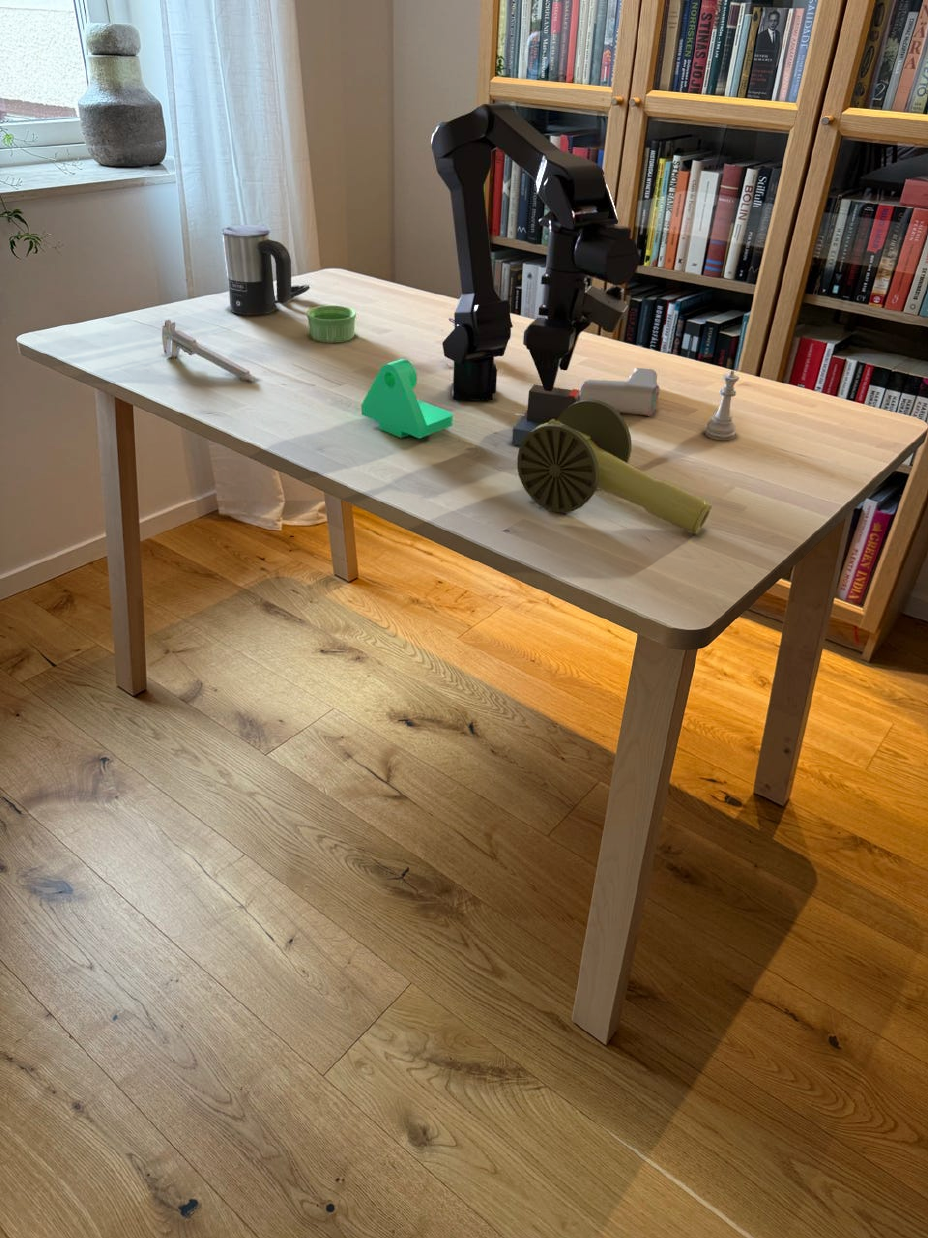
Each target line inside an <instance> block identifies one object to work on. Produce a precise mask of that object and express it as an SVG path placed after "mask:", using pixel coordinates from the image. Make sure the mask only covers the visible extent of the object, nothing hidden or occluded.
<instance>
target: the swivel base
mask: <svg viewBox="0 0 928 1238" xmlns="http://www.w3.org/2000/svg"><path fill="white" fill-rule="evenodd" d="M514 416H516V417H520V419H519V420H518V421H517V423H516V424H515V425H514V427H513V428H512V439H511V440H512V441H511V445H514V446H519V447H520V446H521V444H522V442H523V441H524V439H525V438H526V437H527V436H528V435H529V434H530V433H531V432H532V431H533V430H534V429H536V428H537V427H538V426H539V425H542V424H544V423H540V422H534V421H528V420H527V410H526V411H525V412H524V414H522V413H515V414H514Z"/></svg>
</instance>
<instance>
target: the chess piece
mask: <svg viewBox="0 0 928 1238" xmlns="http://www.w3.org/2000/svg"><path fill="white" fill-rule="evenodd" d="M722 379H723V382H724V386H723V387H722V388H720V390H719V395H721V396H722V398H721V402H720V404H719V407H718V409H717V412H716V413H714V414H713V416H712V418H711V419H709V420H708V421H707V422H706V425H705V426H706V427H705V428H704V434H705V436H706V437H708V438H710V439H713V440H715V441H730V440H732V439H734V437H735V434H736V433H735V431H736V425H735V423H734V422H733V416H732V415H731V402H732V401H731V400H732V398H733V397H735V396H736V395H737V391H736V390H735V387H734V386H735V384H736V383H737V382H738V381H739V380H740V376H739V375H737V374H735V370H729V373H724V374H723V375H722Z"/></svg>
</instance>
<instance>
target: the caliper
mask: <svg viewBox="0 0 928 1238" xmlns="http://www.w3.org/2000/svg"><path fill="white" fill-rule="evenodd" d="M161 328H162V329H161V339H162V348H163V353H164V354H165V355H166V356H167V355H170V354H171V358H172V359H174V358H176V357H178V356H179V354H180V350H182V351H183V352H184V353H187V354H188V355H189V356H193V355H197V356H199V357H201V358H203V359H205V360H206V361H208V362H209V363H211V364H214V365H216V366H217V367H219V368H221V369H223V370H224V371H226V372H228V373H230V374H232V375H234V376H235V377H237V378H239V379H241V380H243V381H250V382H252V381H254V380H256V377H255V376H254V375H252V374H251V371H250V370H249V369H247V368H245V367H243V366H241V365H240V364H237V363H235V362H234V361H232V360H230V359H228V358H226V357H224V356H223V355H221V354H219V353H217V352H216V351H214V350H211V349H209V348H208V347H206V346H204V345H202V344H201V343H198V342H197V339H195V338H194V337H192V336H190V335H188V334H186V333H185V332H183V331H181V330H179V329H176V322H172V321H171V319H165V321H164V325H162V327H161Z"/></svg>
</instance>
